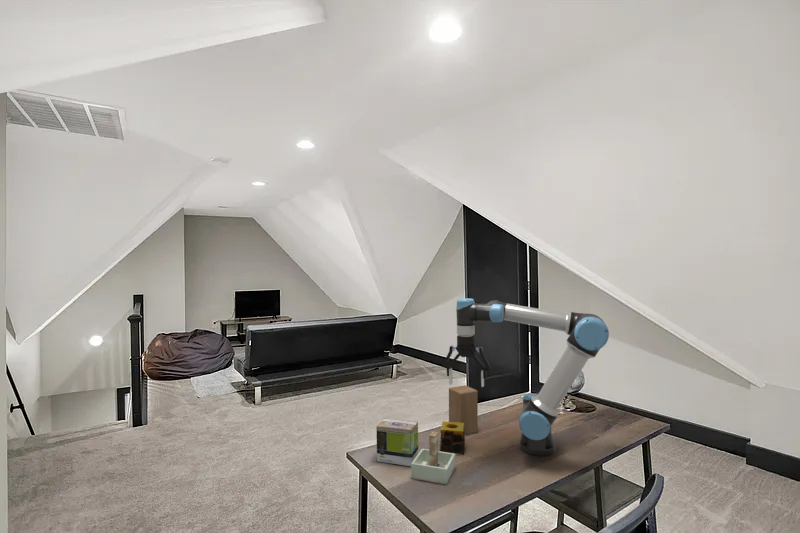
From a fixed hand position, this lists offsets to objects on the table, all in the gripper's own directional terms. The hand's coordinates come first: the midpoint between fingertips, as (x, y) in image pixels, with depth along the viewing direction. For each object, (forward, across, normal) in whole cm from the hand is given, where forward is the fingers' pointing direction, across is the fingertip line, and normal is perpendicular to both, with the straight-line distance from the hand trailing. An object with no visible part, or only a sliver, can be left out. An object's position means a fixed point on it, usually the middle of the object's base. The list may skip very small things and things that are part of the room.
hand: (466, 385), depth 183 cm
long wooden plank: (+27, +9, +23) cm, 37 cm away
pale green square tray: (+28, +9, +23) cm, 37 cm away
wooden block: (+28, +6, -21) cm, 36 cm away
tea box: (+28, +26, +16) cm, 42 cm away
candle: (+28, +6, 0) cm, 29 cm away
